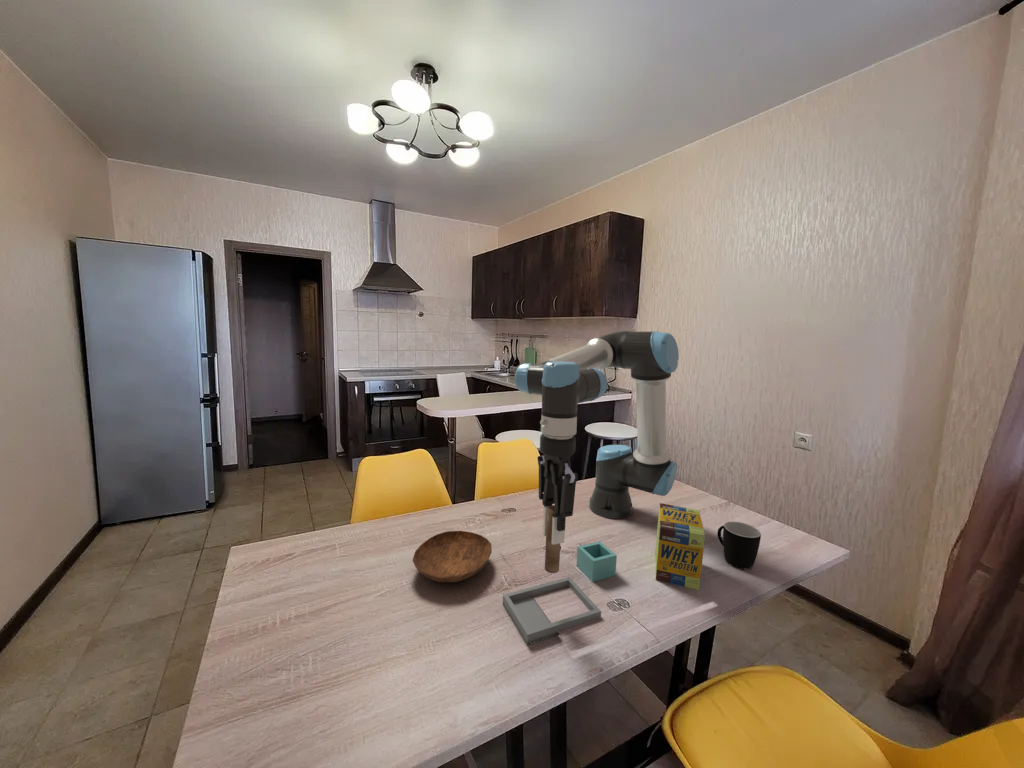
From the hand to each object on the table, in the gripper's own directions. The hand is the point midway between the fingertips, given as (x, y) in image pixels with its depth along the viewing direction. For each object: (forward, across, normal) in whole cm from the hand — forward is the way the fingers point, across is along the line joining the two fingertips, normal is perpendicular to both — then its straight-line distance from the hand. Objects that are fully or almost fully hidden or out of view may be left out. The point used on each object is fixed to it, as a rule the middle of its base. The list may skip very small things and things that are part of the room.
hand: (553, 538), depth 87 cm
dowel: (+7, 0, 0) cm, 7 cm away
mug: (+18, +1, +59) cm, 62 cm away
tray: (+18, 0, 0) cm, 18 cm away
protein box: (+18, -1, +39) cm, 43 cm away
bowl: (+18, -24, -16) cm, 34 cm away
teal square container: (+18, -8, +18) cm, 27 cm away
